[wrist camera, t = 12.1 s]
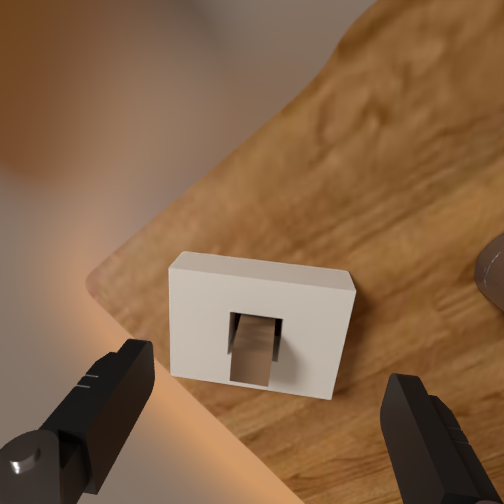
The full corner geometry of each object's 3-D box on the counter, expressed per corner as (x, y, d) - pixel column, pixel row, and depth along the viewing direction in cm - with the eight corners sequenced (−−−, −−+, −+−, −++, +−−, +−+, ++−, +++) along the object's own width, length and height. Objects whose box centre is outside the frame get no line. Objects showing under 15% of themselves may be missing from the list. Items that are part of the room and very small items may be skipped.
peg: (276, 302, 40) (272, 355, 31) (273, 329, 41) (267, 386, 32) (245, 298, 40) (231, 349, 31) (243, 324, 42) (229, 380, 32)
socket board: (348, 270, 37) (356, 291, 33) (326, 370, 43) (330, 399, 38) (183, 251, 39) (168, 267, 34) (183, 349, 44) (170, 375, 40)
